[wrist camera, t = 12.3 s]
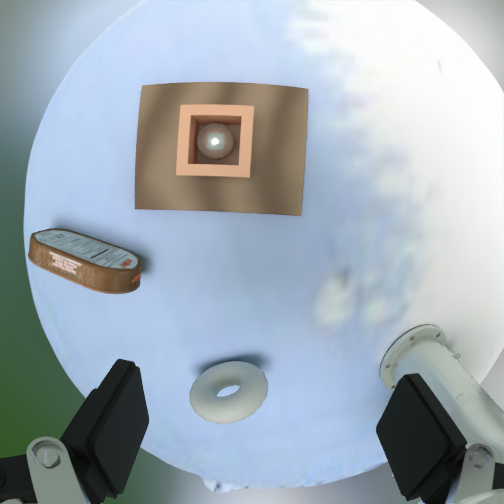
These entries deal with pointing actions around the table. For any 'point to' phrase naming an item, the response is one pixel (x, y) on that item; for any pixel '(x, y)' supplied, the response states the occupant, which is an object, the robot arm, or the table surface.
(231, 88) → the board
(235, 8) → the table surface
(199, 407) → the donut
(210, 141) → the domed metal cylinder
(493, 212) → the table surface
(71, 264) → the tin
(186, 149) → the hollow square tube
